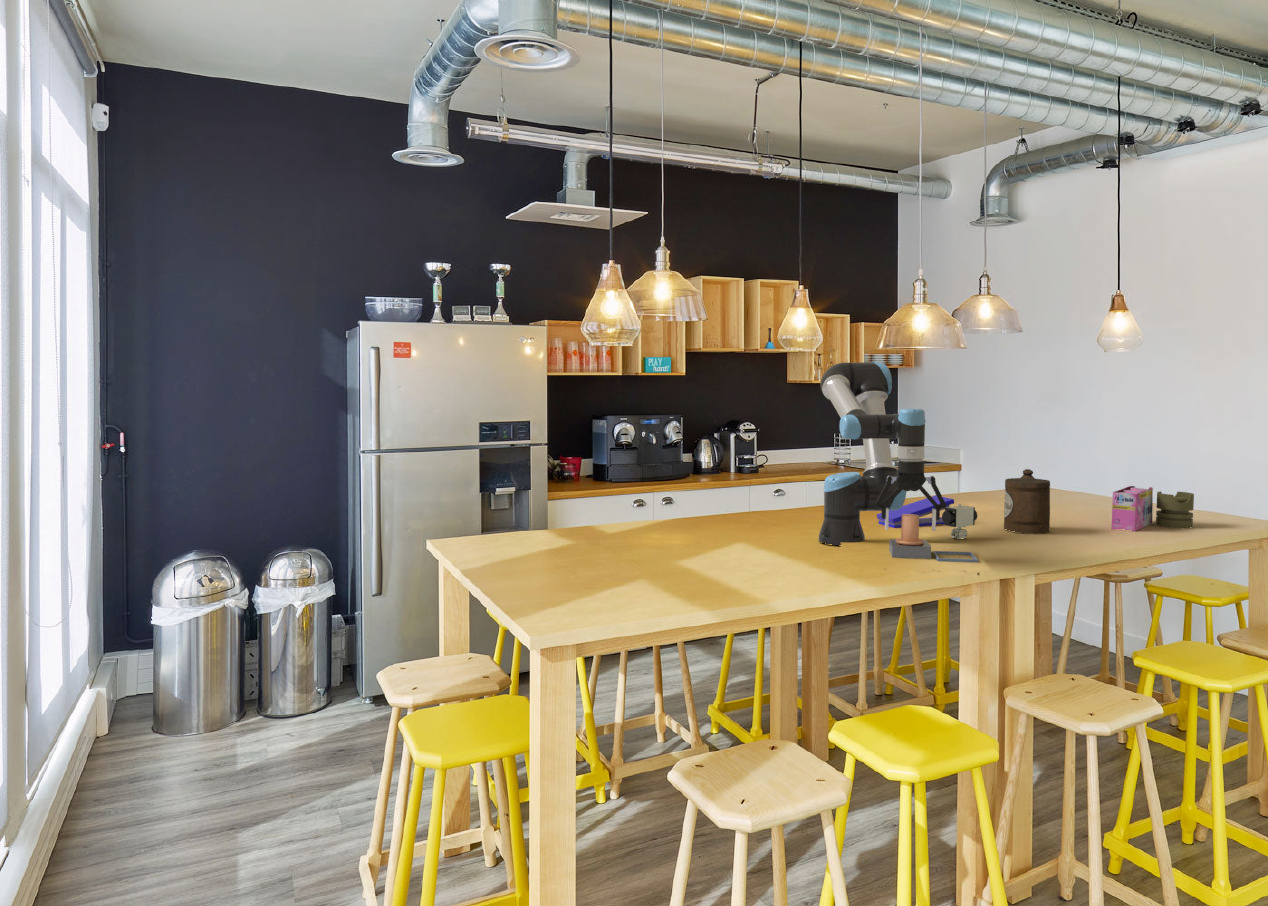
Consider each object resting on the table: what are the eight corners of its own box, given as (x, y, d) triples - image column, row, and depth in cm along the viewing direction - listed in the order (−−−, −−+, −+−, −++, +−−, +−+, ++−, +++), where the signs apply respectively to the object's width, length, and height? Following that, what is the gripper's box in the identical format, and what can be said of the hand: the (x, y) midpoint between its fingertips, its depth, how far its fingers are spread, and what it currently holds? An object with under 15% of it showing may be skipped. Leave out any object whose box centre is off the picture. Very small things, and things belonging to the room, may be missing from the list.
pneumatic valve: (977, 538, 288) (978, 503, 287) (951, 541, 283) (951, 506, 282) (965, 535, 293) (965, 501, 292) (939, 538, 288) (939, 504, 287)
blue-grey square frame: (937, 566, 246) (937, 558, 246) (932, 558, 257) (932, 550, 257) (977, 567, 244) (977, 559, 244) (971, 559, 254) (971, 552, 254)
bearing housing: (892, 562, 252) (892, 545, 251) (889, 555, 262) (889, 539, 262) (930, 563, 249) (931, 547, 249) (926, 556, 260) (926, 540, 260)
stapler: (957, 524, 317) (958, 498, 317) (893, 529, 309) (894, 502, 308) (938, 519, 328) (938, 494, 327) (875, 524, 320) (876, 498, 319)
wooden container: (1008, 525, 312) (1010, 466, 310) (1052, 529, 303) (1054, 468, 301) (999, 531, 300) (1001, 470, 298) (1045, 535, 291) (1046, 472, 289)
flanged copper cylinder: (897, 556, 253) (897, 517, 252) (894, 551, 261) (895, 512, 260) (925, 557, 251) (925, 517, 250) (921, 552, 259) (922, 513, 258)
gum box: (1129, 520, 319) (1131, 485, 318) (1153, 523, 314) (1155, 487, 312) (1110, 529, 302) (1112, 491, 301) (1135, 532, 297) (1137, 493, 296)
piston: (1200, 495, 300) (1166, 495, 302) (1198, 528, 301) (1164, 528, 303) (1184, 491, 311) (1151, 491, 313) (1182, 523, 312) (1150, 523, 314)
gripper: (868, 460, 252) (868, 531, 254) (957, 461, 247) (955, 533, 249) (867, 458, 260) (866, 526, 261) (953, 459, 254) (951, 528, 256)
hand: (910, 530), depth 255 cm, fingers open, 13 cm apart
